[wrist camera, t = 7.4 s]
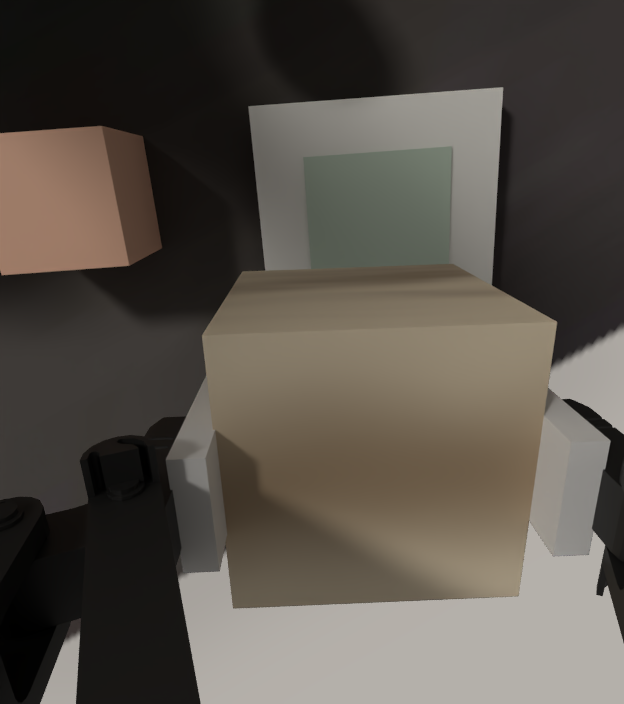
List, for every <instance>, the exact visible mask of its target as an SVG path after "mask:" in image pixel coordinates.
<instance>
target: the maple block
mask: <svg viewBox="0 0 624 704" xmlns="http://www.w3.org/2000/svg"><path fill="white" fill-rule="evenodd" d="M556 327H557V322H556V321H555V320H553V319H551V318H549V317H547V316H546V315H544V314H542V313H540V312H538V311H537V310H535V309H533V308H531V307H530V306H528V305H526V304H524V303H522V302H521V301H519V300H517V299H515V298H513V297H512V296H510V295H508V294H506V293H504V292H503V291H501V290H499V289H497V288H495V287H494V286H492V285H490V284H488V283H486V282H485V281H483V280H481V279H479V278H478V277H476V276H474V275H472V274H470V273H469V272H467V271H465V270H463V269H461V268H460V267H458V266H456V265H454V264H433V265H406V266H379V267H351V268H324V269H297V270H269V271H242V273H241V275H240V276H239V278H238V279H237V281H236V282H235V284H234V286H233V287H232V289H231V290H230V292H229V294H228V295H227V297H226V298H225V300H224V301H223V303H222V305H221V306H220V308H219V309H218V311H217V312H216V314H215V316H214V317H213V319H212V320H211V322H210V324H209V325H208V327H207V328H206V330H205V331H204V333H203V335H202V340H203V349H204V357H205V366H206V375H207V384H208V392H209V401H210V410H211V419H212V428H213V430H215V433H216V441H217V450H218V459H219V467H220V476H221V484H222V493H223V502H224V510H225V519H226V528H227V538H226V550H227V558H228V568H229V576H230V584H231V594H232V603H233V608H257V607H280V606H302V605H326V604H350V603H373V602H397V601H420V600H443V599H464V598H465V599H466V598H489V597H512V596H519V589H520V582H521V575H522V567H523V560H524V552H525V545H526V539H527V532H528V524H529V518H530V511H531V504H532V497H533V490H534V483H535V476H536V468H537V461H538V454H539V447H540V440H541V433H542V425H543V418H544V412H545V405H546V398H547V391H548V383H549V376H550V369H551V362H552V355H553V348H554V341H555V334H556Z"/></svg>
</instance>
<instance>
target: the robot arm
mask: <svg viewBox="0 0 624 704" xmlns="http://www.w3.org/2000/svg"><path fill="white" fill-rule="evenodd" d="M80 464H81V468H82V472H83V477H84V481H85V486H86V490H87V495H88V504H86V505H83V506H79V507H76V508H73V509H69V510H64V511H60V512H56V513H52V514H47V515H45V511H44V507H43V505H42V503H41V502H40V500H38V499H35V498H32V497H15V498H10V499H3V500H0V704H40V702H41V699H42V697H43V694H44V692H45V689H46V686H47V684H48V681H49V679H50V676H51V673H52V671H53V668H54V665H55V663H56V660H57V657H58V655H59V652H60V650H61V647H62V645H63V642H64V639H65V637H66V634H67V632H68V629H69V626H70V623H71V621H73V620H76V619H79V618H81V629H80V647H79V663H78V681H77V696H76V704H200V698H199V693H198V687H197V681H196V676H195V671H194V665H193V660H192V654H191V648H190V643H189V638H188V632H187V627H186V621H185V615H184V610H183V604H182V600H181V593H180V588H179V582H178V576H177V571H176V564H177V561H178V558H179V555H181V561H182V567H183V573H193V572H214V571H220V567H221V562H222V557H223V553H224V548H225V543H226V538H227V528H226V519H225V510H224V502H223V493H222V484H221V476H220V467H219V459H218V450H217V441H216V433H215V430H213V428H212V419H211V410H210V401H209V392H208V384H207V375H206V377H205V379H204V381H203V383H202V385H201V387H200V390H199V392H198V394H197V396H196V398H195V400H194V402H193V404H192V406H191V408H190V410H189V412H188V414H187V416H186V417H164V418H162V419H161V420H160V421H158V422H157V423H155V424H154V425H153V426H151V427H150V428H149V430H148V431H147V433H146V435H145V436H144V437H143V436H135V435H128V436H120V437H115V438H111V439H108V440H104V441H102V442H100V443H98V444H96V445H94V446H92V447H91V448H89V449H88V450H87V451H86V452H85V453H83V455H82V457H81V459H80ZM529 521H530V523H531V524H532V525H533V527H534V529H535V530H536V532H537V533H538V535H539V536H540V538H541V539H542V541H543V542H544V543H545V545H546V547H547V548H548V550H549V551H550V552H551V554H552V556H571V555H572V556H573V555H589V551H590V546H591V540H592V535H593V531H594V532H595V533H596V534H597V535H598V537H599V538H600V539H601V540H602V541H603V542H604V544H605V550H604V554H603V559H602V564H601V569H600V574H599V579H598V584H597V595H600V596H603V592H604V588H605V587H606V586H607V585H608V587H609V591H610V595H611V598H612V601H613V605H614V609H615V613H616V616H617V620H618V624H619V627H620V631H621V634H622V638H623V642H624V434H622V433H621V432H620V431H618V430H617V429H616V428H612V425H611V424H610V423H608V422H607V421H606V420H605V419H602V417H601V416H600V415H598V414H597V413H596V412H594V411H593V410H592V409H591V408H589V407H587V406H585V405H583V404H581V403H578V402H576V401H574V400H571V399H560V398H559V397H558V396H557V395H556V394H555V393H554V392H552V391H551V390H550V389H549V388H548V391H547V398H546V405H545V412H544V418H543V425H542V433H541V440H540V447H539V454H538V461H537V468H536V476H535V483H534V490H533V497H532V504H531V511H530V518H529Z"/></svg>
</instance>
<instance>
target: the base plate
mask: <svg viewBox="0 0 624 704" xmlns="http://www.w3.org/2000/svg"><path fill="white" fill-rule="evenodd" d="M502 98H503V87H502V88H489V89H475V90H462V91H448V92H434V93H421V94H407V95H394V96H380V97H367V98H353V99H340V100H326V101H313V102H299V103H286V104H272V105H259V106H248V108H249V117H250V127H251V137H252V146H253V156H254V166H255V176H256V185H257V195H258V205H259V214H260V224H261V234H262V243H263V253H264V263H265V271H269V270H297V269H324V268H351V267H379V266H406V265H433V264H454V265H456V266H458V267H460V268H461V269H463V270H465V271H467V272H469V273H470V274H472V275H474V276H476V277H478V278H479V279H481V280H483V281H485V282H486V283H488V284H490V285H492V273H493V255H494V238H495V220H496V203H497V185H498V168H499V150H500V133H501V115H502Z"/></svg>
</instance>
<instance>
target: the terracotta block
mask: <svg viewBox="0 0 624 704" xmlns="http://www.w3.org/2000/svg"><path fill="white" fill-rule="evenodd" d="M160 249H162V244H161V238H160V233H159V227H158V221H157V215H156V209H155V204H154V198H153V192H152V186H151V180H150V175H149V169H148V163H147V157H146V151H145V146H144V140H143V136H139V135H136V134H132V133H128V132H124V131H120V130H116V129H112V128H108V127H104V126H93V127H79V128H65V129H52V130H38V131H25V132H11V133H0V271H1V275H12V274H26V273H39V272H53V271H66V270H80V269H93V268H106V267H120V266H130V265H132V264H134V263H135V262H137V261H139V260H141V259H143V258H145V257H147V256H148V255H150V254H152V253H154V252H156V251H158V250H160Z"/></svg>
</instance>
